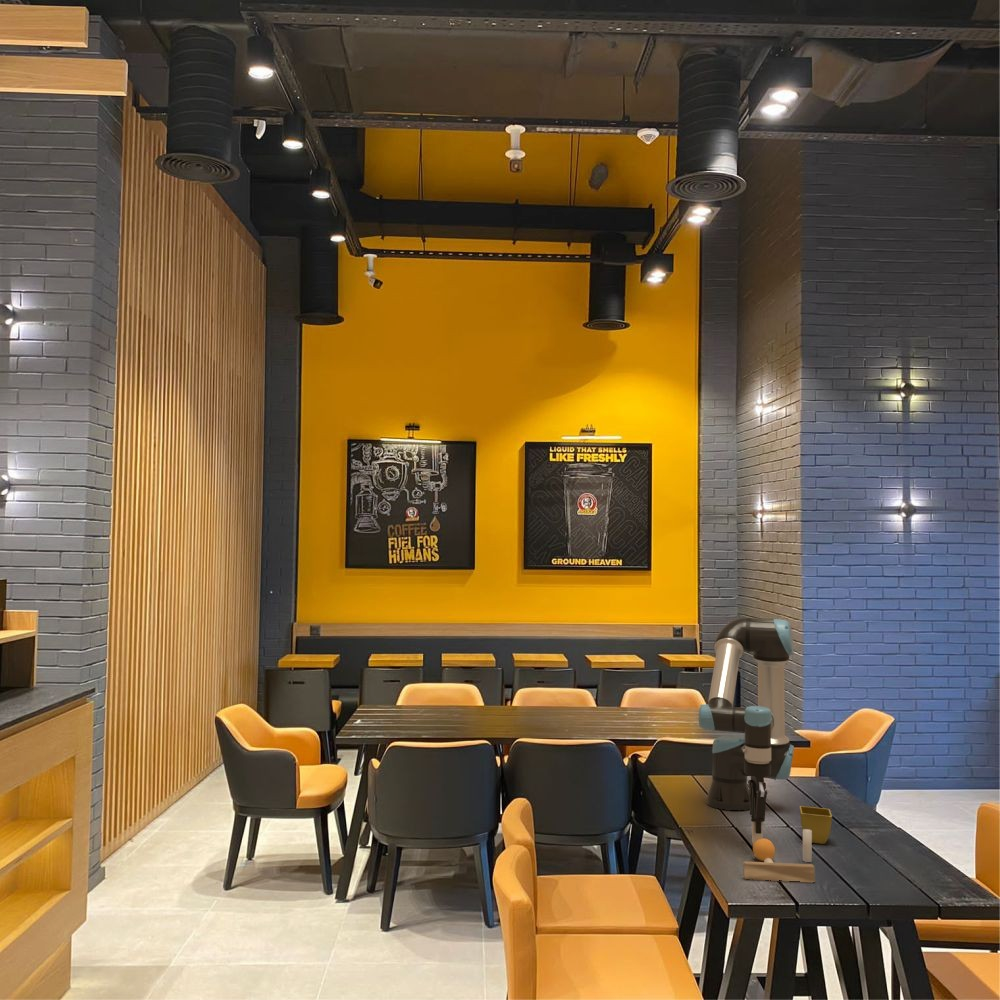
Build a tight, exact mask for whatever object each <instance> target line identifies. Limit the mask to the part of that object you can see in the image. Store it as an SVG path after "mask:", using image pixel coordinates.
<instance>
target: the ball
mask: <svg viewBox="0 0 1000 1000" xmlns="http://www.w3.org/2000/svg"><path fill="white" fill-rule="evenodd" d="M752 845H753V846H752V851H753V854H754V856H755V858H756V859H757V860H759V861H760V862H764V860H765V859H766V858H770V859H772V860H773V858H774V857H775V855H776V848H775V845H774V843H773V842H772V841H771V840H770V839H768V838H764V837H762V839H758V840H757V841H756V842H755V843H754V844H752Z"/></svg>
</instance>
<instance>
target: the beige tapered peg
mask: <svg viewBox="0 0 1000 1000" xmlns="http://www.w3.org/2000/svg"><path fill="white" fill-rule="evenodd" d="M812 848H813V847H812V830H809V829H803V831H802V862H803V861H805V862H804V863H806V862H811V863H812V861H813V855H812V854H813V853H812V850H813V849H812Z"/></svg>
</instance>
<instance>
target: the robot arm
mask: <svg viewBox="0 0 1000 1000" xmlns="http://www.w3.org/2000/svg"><path fill="white" fill-rule="evenodd" d="M793 639H794V637H793V632H792V628H791V624H790V622H789V621H788V620H786V619H779V618H778V619H777V618H766V617H765V618H762V617H761V618H760V617H759V618H757V617H739V618H736V619H734V620H733V619H732V621H730V622H729V623H726V625H725V626H723V628H722V629H721V630H720V631H719V633H718V634H717V636H716V639H715V641H714V647H713V648H714V649H713V650H714V652H715V659H714V664H713V671H712V676H711V677H712V678H711V684H710V689H709V695H708V700H707V703H706V704H700V706H699V709H698V725H699V727H700V728H701V729H704V730H709V731H712V732H713V731H714V732H715V731H717V732H718V731H719V732H729V733H730V732H732V733H739V734H731V735H721V736H718V737H716V738H715V739H714V740H713V742H712V750H711V753H712V760H711V762H712V767H711V768H712V774H711V777H712V778H711V779H712V781H711V784H710V787H709V789H708V792H707V796H706V804H707V805H708V806H710V807H711V808H714V809H717V808H719V810H722V809H725V810H724V811H730V810H739V811H738V812H741V811H740V810H744V811H749V815H750V817H751V819H750V822H751V844H752V845H754V843H755V842H756V841H757V840H758V839H762V838H763V828H764V827H763V822H765V821H766V807H767V806H766V804H767V795H768V790H766V789H767V784H766V782H765V779H770V780H771V779H772V780H775V781H776V780H782V781H786V780H788V779H789V778H790V777H791V771H792V765H793V764H792V763H793V758H794V757H793V756H794V751H795V746H794V745H792V744H791V743H790V738H789V737H788V736H787V735H786V733H785V731H786V729H785V728H786V727H785V726H786V725H785V723H786V721H785V720H786V719H785V718H786V717H785V716H786V715H785V713H786V712H785V710H786V709H785V692H786V691H785V688H786V687H785V686H786V685H785V681H786V680H785V665H786V664H787V663H788V662H789V661H790V656H792V655H794V654H795V653H794V651H795V649H794V640H793ZM744 653H752V655H753V660H754V661H755V662H756V663H757V693H758V694H757V705H751V706H746V707H738V706H737V707H736V706H734V699H735V693H736V685H737V679H738V678H737V677H738V671H739V664H740V658H741V657H742V656H744V655H743V654H744ZM740 733H741V734H744V735H740ZM748 777H750V779H748ZM748 809H749V810H748Z"/></svg>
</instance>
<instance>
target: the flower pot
mask: <svg viewBox="0 0 1000 1000" xmlns="http://www.w3.org/2000/svg"><path fill="white" fill-rule="evenodd" d="M799 816H800V824H801V830H802V832H803V829H809V830H812V843H813V844H821V845H824V844H826V843H827V841H828V839H829V836H830V834H831V829H832V821H833V815H832V811H831V810H830V808H824V807H823V808H822V807H814V806H806V805H805V806H803V805H799Z"/></svg>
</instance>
